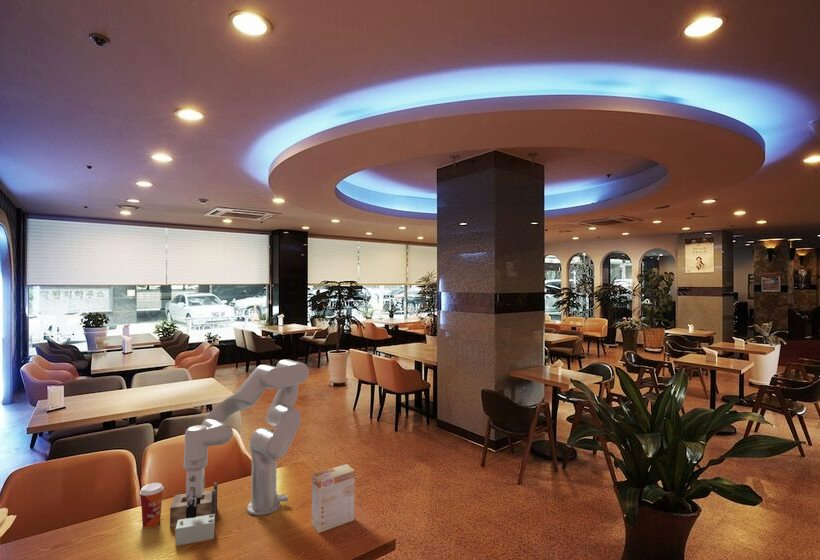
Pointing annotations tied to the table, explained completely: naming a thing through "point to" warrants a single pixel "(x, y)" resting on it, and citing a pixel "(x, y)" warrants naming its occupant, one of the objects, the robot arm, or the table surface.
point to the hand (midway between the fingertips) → (193, 510)
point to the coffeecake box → (333, 497)
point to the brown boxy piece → (204, 508)
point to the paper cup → (151, 504)
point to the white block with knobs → (195, 529)
